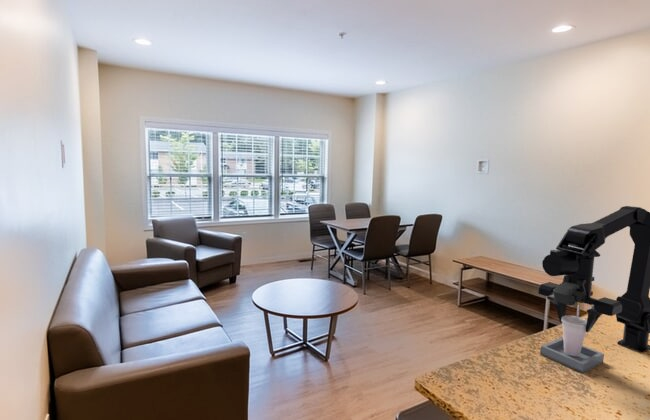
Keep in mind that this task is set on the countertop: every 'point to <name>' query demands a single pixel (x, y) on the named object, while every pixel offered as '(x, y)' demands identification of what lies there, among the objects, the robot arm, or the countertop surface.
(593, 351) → the tray
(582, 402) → the countertop surface
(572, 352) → the smoothie
